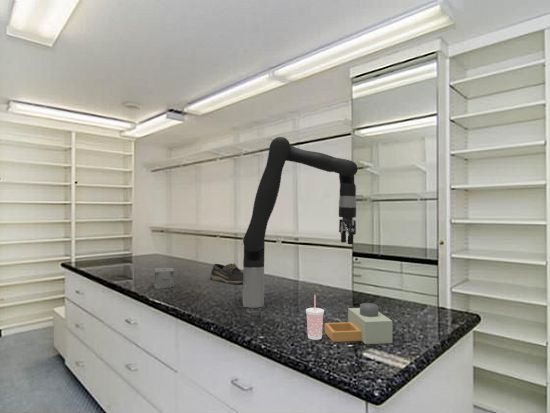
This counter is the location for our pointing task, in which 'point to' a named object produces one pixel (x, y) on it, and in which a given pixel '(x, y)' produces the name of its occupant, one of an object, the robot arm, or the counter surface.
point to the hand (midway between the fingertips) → (346, 243)
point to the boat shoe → (226, 274)
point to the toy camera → (362, 326)
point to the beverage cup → (314, 321)
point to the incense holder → (164, 278)
